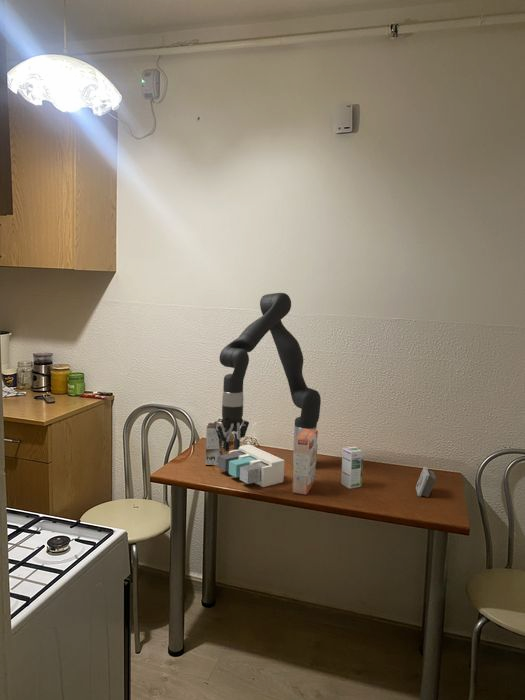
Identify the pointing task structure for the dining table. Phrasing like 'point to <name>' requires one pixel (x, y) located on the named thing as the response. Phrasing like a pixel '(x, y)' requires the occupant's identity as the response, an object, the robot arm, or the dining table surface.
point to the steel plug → (251, 472)
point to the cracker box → (304, 461)
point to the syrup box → (352, 467)
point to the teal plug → (238, 465)
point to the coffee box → (213, 445)
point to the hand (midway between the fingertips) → (231, 450)
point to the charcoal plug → (227, 460)
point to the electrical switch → (425, 482)
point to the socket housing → (268, 473)
